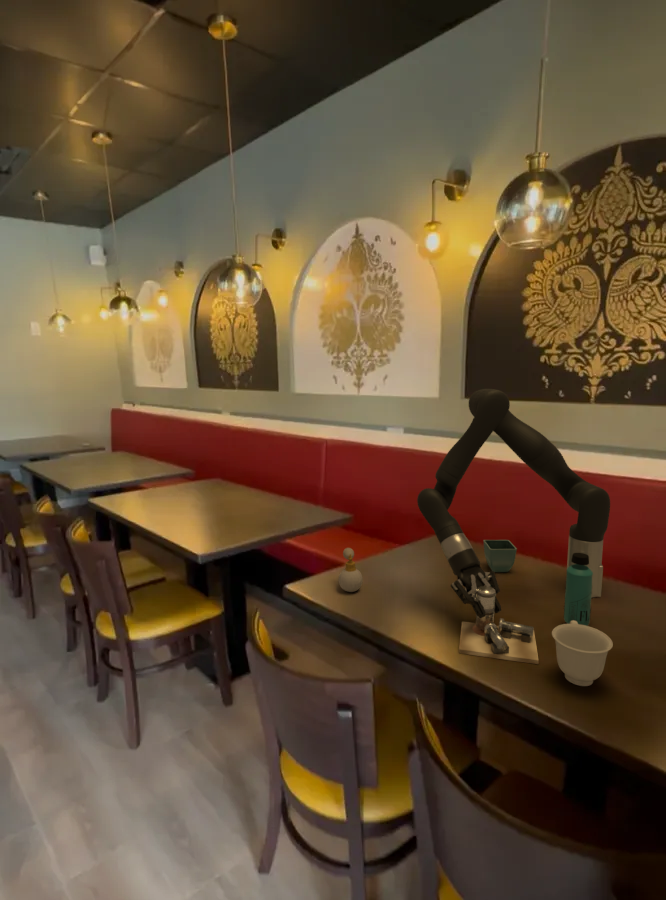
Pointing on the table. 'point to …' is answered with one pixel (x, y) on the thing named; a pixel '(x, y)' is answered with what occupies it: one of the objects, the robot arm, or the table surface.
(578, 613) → the beverage bottle
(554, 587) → the table surface
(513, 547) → the flower pot
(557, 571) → the table surface
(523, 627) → the shaft
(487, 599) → the disc
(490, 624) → the shaft
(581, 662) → the teacup
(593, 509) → the robot arm
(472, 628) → the base board
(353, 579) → the perfume bottle
